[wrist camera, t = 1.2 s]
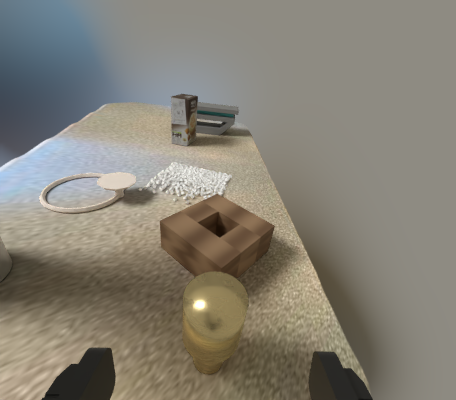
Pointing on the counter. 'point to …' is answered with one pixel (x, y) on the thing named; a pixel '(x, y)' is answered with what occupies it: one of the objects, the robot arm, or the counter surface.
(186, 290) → the brass pin
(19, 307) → the counter surface
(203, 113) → the grey slotted bar
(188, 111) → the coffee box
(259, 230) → the walnut block
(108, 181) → the hand towel holder
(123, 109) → the counter surface
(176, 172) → the salt crystals
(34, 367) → the counter surface
